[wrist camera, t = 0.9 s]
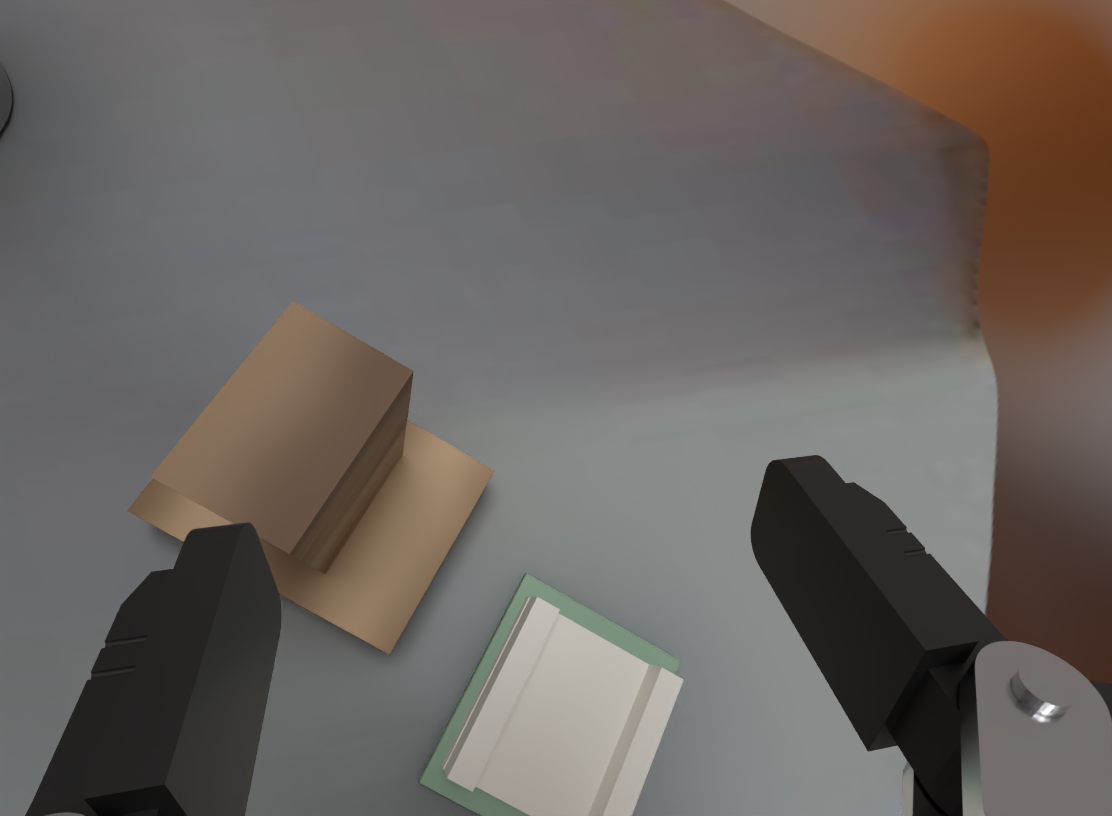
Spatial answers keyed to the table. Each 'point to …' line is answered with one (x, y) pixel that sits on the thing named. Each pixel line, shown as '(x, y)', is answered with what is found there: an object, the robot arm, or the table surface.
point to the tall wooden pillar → (297, 437)
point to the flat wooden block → (364, 540)
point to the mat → (489, 807)
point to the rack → (562, 720)
